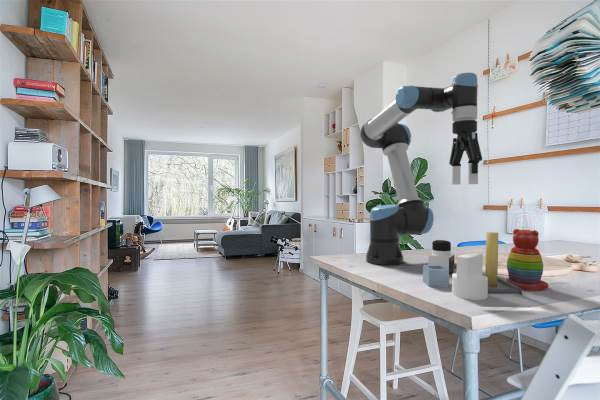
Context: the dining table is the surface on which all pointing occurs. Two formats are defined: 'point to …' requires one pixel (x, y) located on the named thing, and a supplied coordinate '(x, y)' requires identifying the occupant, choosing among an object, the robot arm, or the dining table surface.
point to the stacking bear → (526, 262)
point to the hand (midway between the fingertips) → (464, 184)
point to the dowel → (491, 258)
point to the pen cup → (436, 275)
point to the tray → (504, 287)
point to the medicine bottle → (442, 255)
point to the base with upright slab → (470, 278)
